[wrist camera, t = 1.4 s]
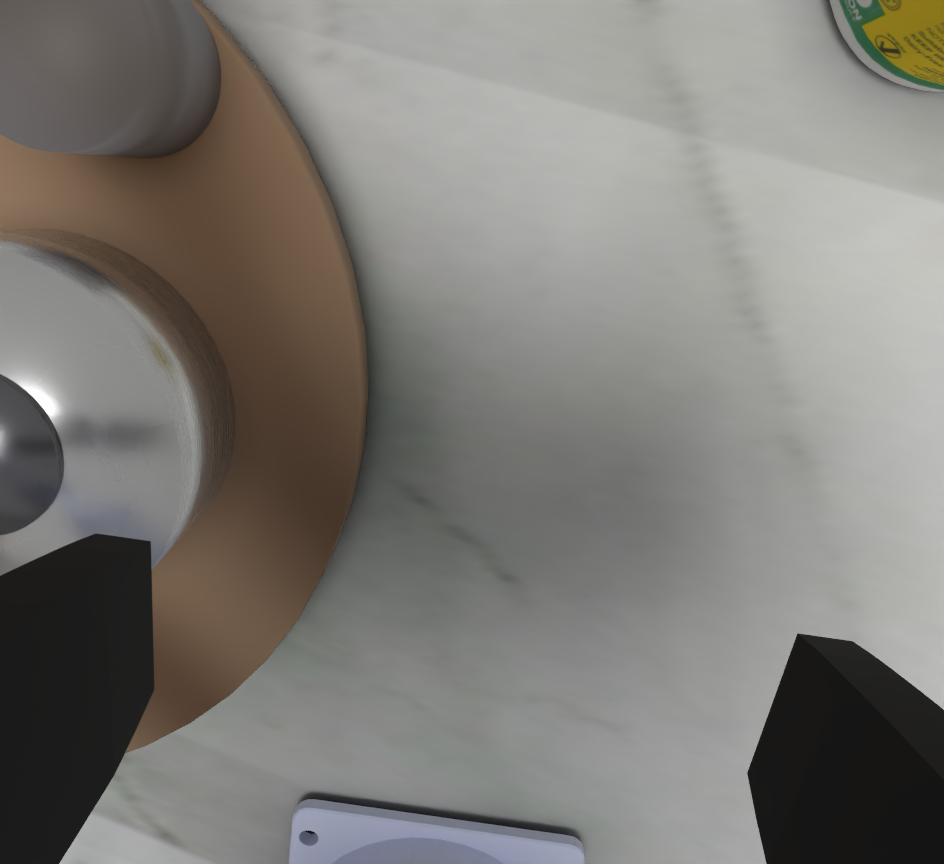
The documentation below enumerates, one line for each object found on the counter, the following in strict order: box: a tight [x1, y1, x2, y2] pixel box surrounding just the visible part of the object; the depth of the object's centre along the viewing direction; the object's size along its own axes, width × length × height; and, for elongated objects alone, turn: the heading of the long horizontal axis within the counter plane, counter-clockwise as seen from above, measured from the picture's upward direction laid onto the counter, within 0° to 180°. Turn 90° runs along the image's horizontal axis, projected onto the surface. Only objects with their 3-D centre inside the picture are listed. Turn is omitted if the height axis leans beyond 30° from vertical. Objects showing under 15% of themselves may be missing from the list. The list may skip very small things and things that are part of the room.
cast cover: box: [0, 228, 235, 576], centre depth 14 cm, size 7×7×3 cm
